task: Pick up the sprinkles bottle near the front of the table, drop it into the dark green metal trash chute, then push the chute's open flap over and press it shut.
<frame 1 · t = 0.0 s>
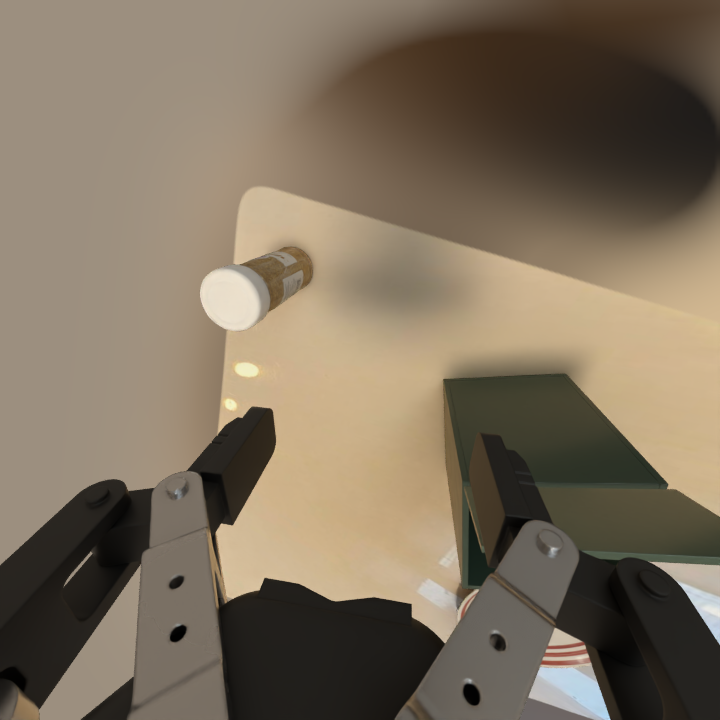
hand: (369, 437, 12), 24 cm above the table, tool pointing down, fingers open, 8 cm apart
dinner plate: (540, 603, 52), on the table
trash chute: (499, 423, 38), on the table
chute flap: (588, 517, 18), point 19 cm above the table, hinge at 110.0°
sprinkles bottle: (293, 268, 34), on the table
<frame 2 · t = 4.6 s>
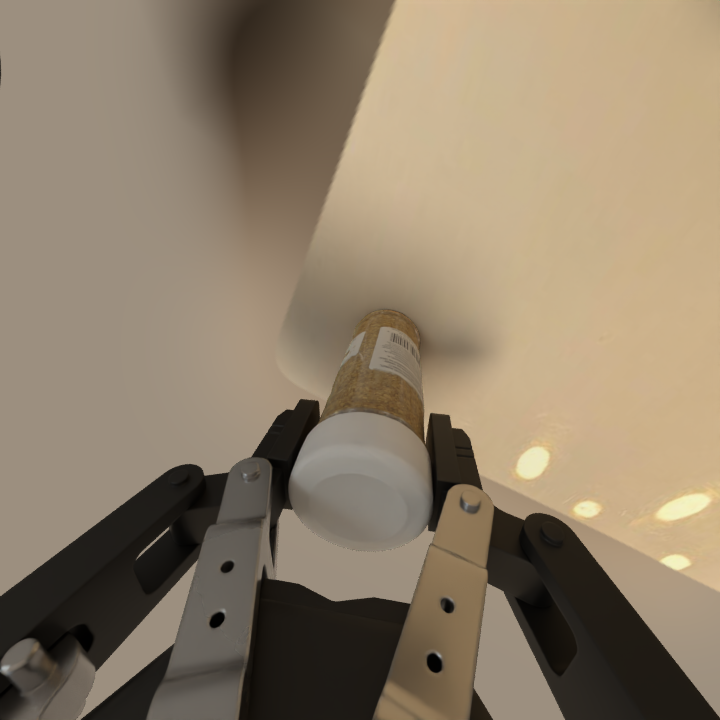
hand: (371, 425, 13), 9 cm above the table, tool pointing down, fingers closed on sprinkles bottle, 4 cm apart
sprinkles bottle: (387, 339, 22), on the table, touching gripper
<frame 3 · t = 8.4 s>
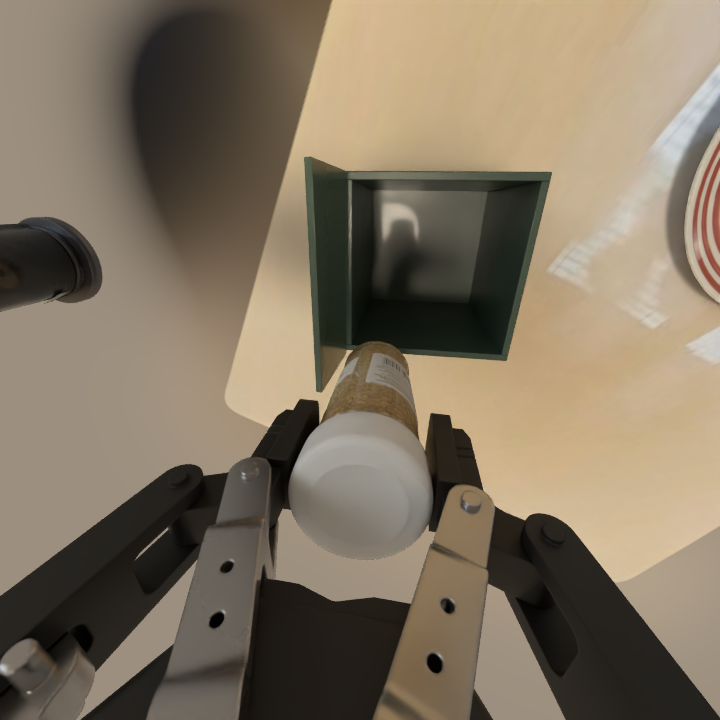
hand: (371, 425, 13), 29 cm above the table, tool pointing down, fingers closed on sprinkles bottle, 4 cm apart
trash chute: (423, 249, 37), on the table
chute flap: (331, 281, 20), point 19 cm above the table, hinge at 94.5°
sprinkles bottle: (377, 370, 23), point 20 cm above the table, touching gripper
when the fingers open (22 cm above the table, at t = 10.9 s): sprinkles bottle drops 12 cm, resting on trash chute.
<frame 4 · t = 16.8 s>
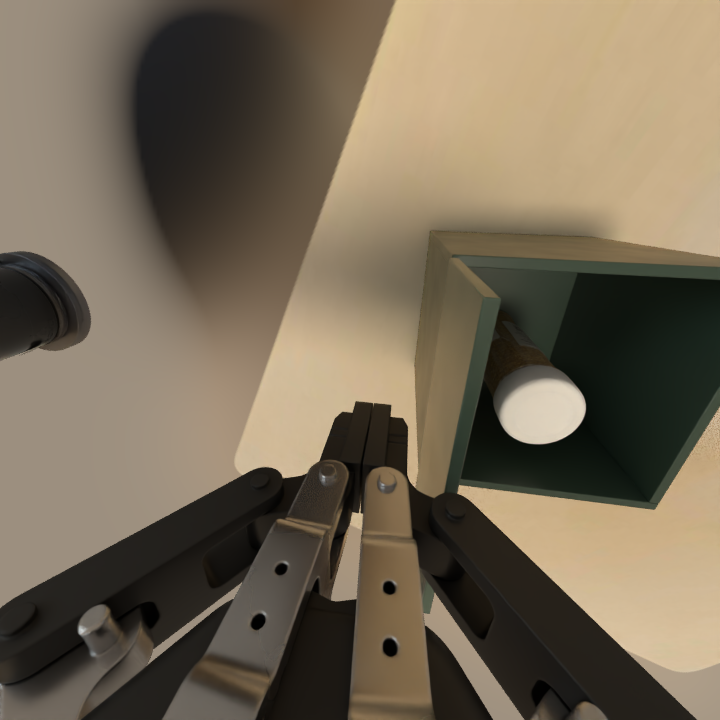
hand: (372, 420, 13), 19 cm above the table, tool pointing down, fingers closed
trash chute: (492, 309, 29), on the table
chute flap: (439, 435, 13), point 19 cm above the table, hinge at 89.4°, touching gripper
sprinkles bottle: (488, 331, 30), resting on trash chute
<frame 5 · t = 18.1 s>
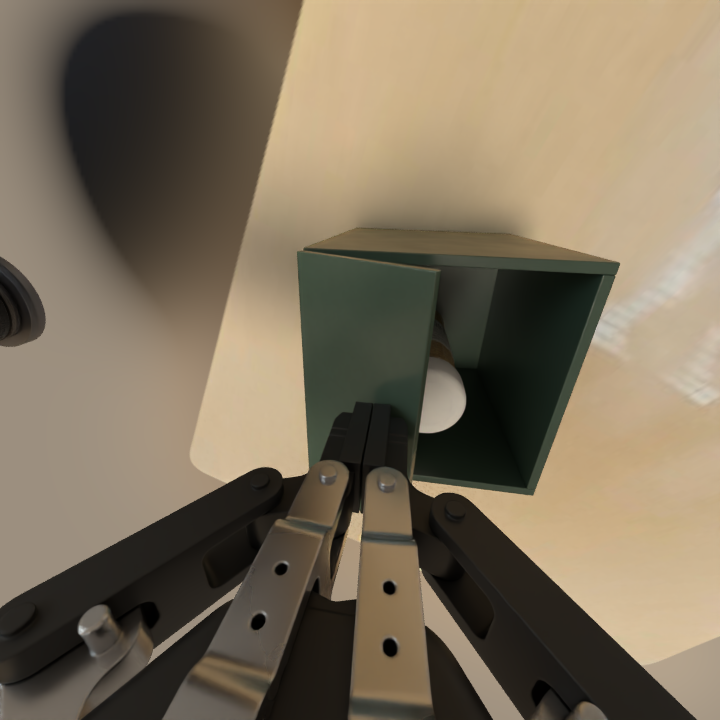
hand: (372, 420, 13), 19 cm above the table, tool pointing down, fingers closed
trash chute: (422, 304, 30), on the table
chute flap: (355, 404, 15), point 18 cm above the table, hinge at 28.9°
sprinkles bottle: (420, 326, 31), resting on trash chute
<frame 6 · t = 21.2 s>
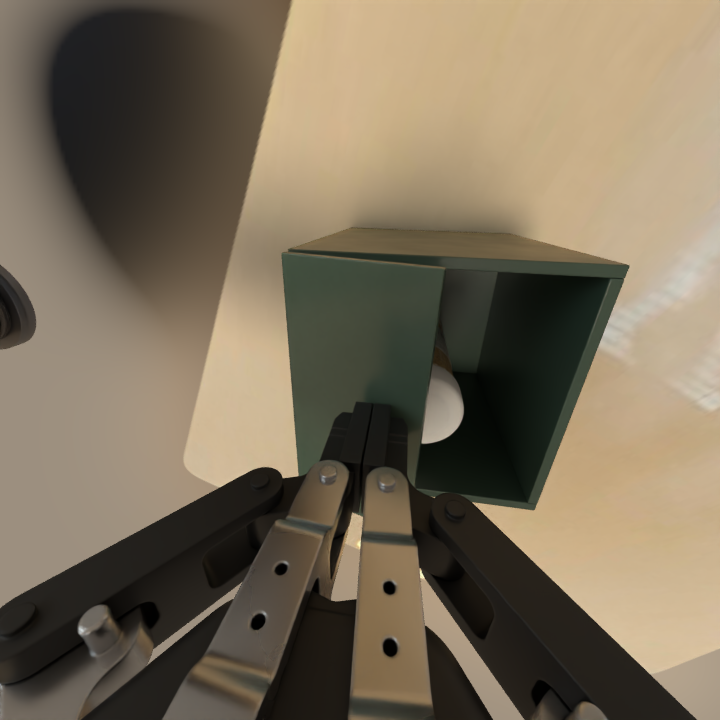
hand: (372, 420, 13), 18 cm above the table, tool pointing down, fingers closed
trash chute: (419, 307, 29), on the table
chute flap: (353, 408, 14), point 17 cm above the table, hinge at 16.5°, touching gripper
sprinkles bottle: (417, 329, 30), resting on trash chute
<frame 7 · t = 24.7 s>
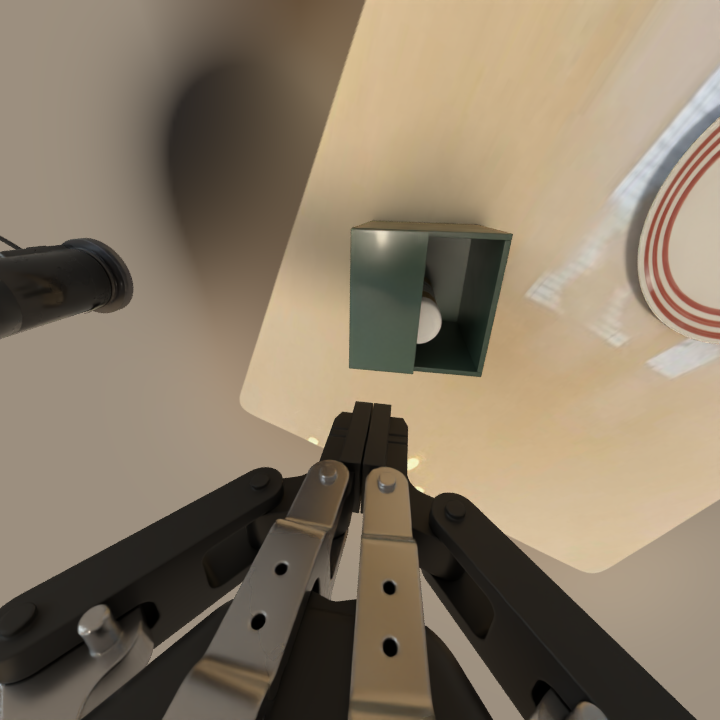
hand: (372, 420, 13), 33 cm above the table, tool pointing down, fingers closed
trash chute: (418, 275, 43), on the table
chute flap: (384, 307, 29), point 16 cm above the table, hinge at -0.1°
sprinkles bottle: (416, 290, 43), resting on trash chute
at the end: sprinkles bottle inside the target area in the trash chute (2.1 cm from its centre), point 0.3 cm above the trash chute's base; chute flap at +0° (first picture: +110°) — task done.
